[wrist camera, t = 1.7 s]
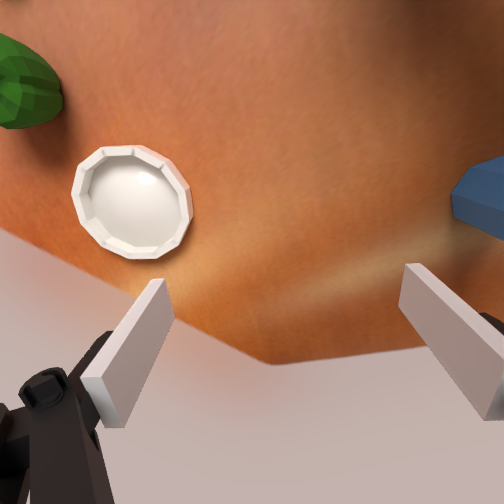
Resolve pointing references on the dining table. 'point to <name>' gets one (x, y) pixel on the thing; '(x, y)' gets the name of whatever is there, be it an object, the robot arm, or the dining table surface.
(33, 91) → the bell pepper
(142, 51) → the dining table surface
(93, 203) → the dish
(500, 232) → the water bottle
